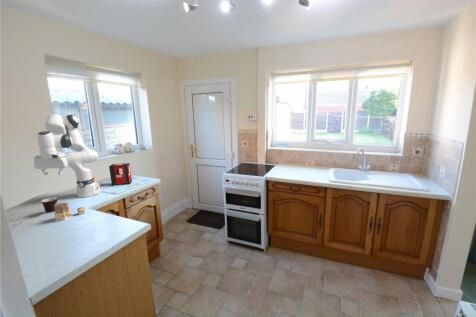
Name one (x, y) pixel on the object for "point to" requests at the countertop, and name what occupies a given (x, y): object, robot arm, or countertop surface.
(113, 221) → the countertop surface
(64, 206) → the walnut cube
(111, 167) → the cleaning product box
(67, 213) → the oak block
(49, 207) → the coffee mug
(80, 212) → the maple dowel
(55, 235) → the countertop surface
